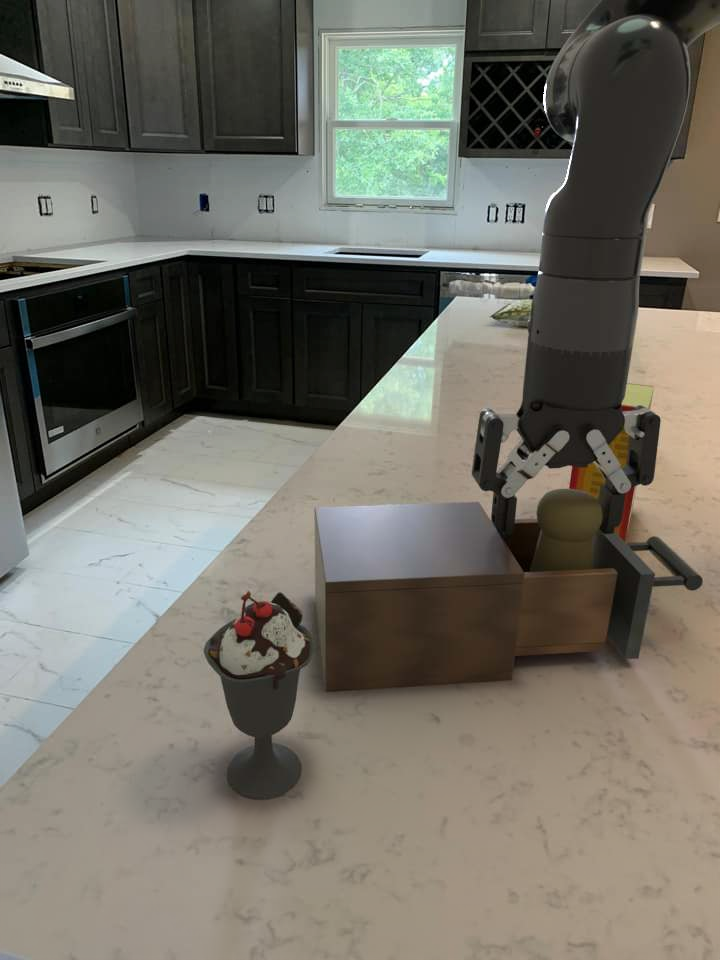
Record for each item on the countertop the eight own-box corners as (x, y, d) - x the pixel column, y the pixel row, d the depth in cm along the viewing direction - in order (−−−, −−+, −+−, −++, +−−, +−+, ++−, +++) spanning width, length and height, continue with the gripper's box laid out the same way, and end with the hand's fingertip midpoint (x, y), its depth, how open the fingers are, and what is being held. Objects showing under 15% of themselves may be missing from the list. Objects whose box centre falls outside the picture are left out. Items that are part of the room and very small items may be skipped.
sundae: (228, 826, 45) (213, 617, 39) (204, 751, 50) (188, 559, 44) (329, 793, 47) (329, 592, 41) (295, 726, 53) (291, 541, 47)
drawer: (639, 581, 70) (653, 507, 67) (705, 654, 60) (725, 570, 57) (442, 591, 68) (448, 515, 65) (475, 668, 58) (483, 581, 55)
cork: (515, 621, 62) (528, 503, 57) (525, 586, 67) (538, 476, 63) (589, 636, 60) (609, 515, 56) (594, 599, 65) (612, 486, 61)
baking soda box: (575, 503, 89) (593, 376, 83) (631, 513, 87) (654, 383, 81) (562, 536, 81) (581, 397, 75) (623, 547, 79) (649, 405, 73)
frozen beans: (510, 292, 207) (601, 300, 197) (508, 313, 210) (598, 321, 200) (489, 305, 190) (587, 314, 180) (487, 328, 192) (584, 337, 183)
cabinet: (470, 595, 69) (478, 501, 66) (512, 681, 58) (525, 573, 54) (315, 602, 68) (314, 507, 64) (325, 693, 56) (325, 582, 52)
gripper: (501, 349, 50) (483, 558, 56) (698, 346, 51) (658, 549, 58) (473, 327, 57) (459, 515, 63) (647, 325, 58) (617, 509, 65)
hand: (554, 531), depth 60 cm, fingers open, 8 cm apart
